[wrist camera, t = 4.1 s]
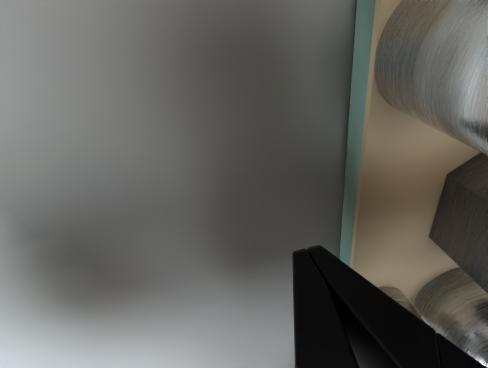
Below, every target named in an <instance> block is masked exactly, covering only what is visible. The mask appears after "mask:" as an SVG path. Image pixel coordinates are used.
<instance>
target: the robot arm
mask: <svg viewBox="0 0 488 368" xmlns="http://www.w3.org/2000/svg"><path fill="white" fill-rule="evenodd" d="M292 262H293V305H294V347H295V368H487V367H486V366H484V365H483V364H481V363H480V362H479V361H477V360H476V359H474V358H473V357H472V356H470V355H469V354H467V353H466V352H465V351H463V350H462V349H460V348H459V347H457V346H456V345H455V344H453V343H452V342H451V341H449V340H448V339H447V338H445V337H444V336H443V335H441V334H440V333H436V331H435V330H434V329H433V328H432V327H430V326H429V325H428V324H426V323H425V322H423V321H422V320H421V319H419V318H418V317H417V316H415V315H414V314H413V313H411V312H410V311H409V310H407V309H406V308H405V307H403V306H402V305H401V304H399V303H398V302H396V301H395V300H394V299H392V298H391V297H390V296H388V295H387V294H386V293H384V292H383V291H382V290H380V289H379V288H378V287H376V286H375V285H374V284H372V283H371V282H369V281H368V280H367V279H365V278H364V277H363V276H361V275H360V274H359V273H357V272H356V271H355V270H353V269H352V268H351V267H349V266H348V265H347V264H345V263H344V262H342V261H341V260H340V259H338V258H337V257H336V256H334V255H333V254H332V253H330V252H329V251H328V250H326V249H325V248H324V247H322V246H320V245H317V246H313V247H309V248H307V249H300V250H296V251H293V253H292Z"/></svg>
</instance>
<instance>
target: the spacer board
mask: <svg viewBox="0 0 488 368" xmlns="http://www.w3.org/2000/svg"><path fill="white" fill-rule="evenodd" d="M401 1H402V0H357V7H356V21H355V36H354V51H353V65H352V80H351V95H350V110H349V124H348V139H347V154H346V168H345V183H344V198H343V213H342V227H341V242H340V257H339V259H340V260H341V261H342V262H344V263H345V264H347V265H348V266H349V267H351V268H352V269H353V270H355V271H356V272H357V273H359V274H360V275H361V276H363V277H364V278H365V279H367V280H368V281H369V282H371V283H372V284H374V285H375V286H376V287H383V286H389V287H395V288H398V289H399V290H401V291H402V292H403V294H404V295H405V296H406V298H407V299H408V300H409V302H410V303H411V304H412V306H413V307H414V308H415V299H416V296H417V295H418V293H419V292H420V290H421V289H422V288H423V287H424V286H425V285H426V284H427V283H428V282H430V281H431V280H432V279H434V278H435V277H437V276H439V275H440V274H442V273H444V272H447V271H449V270H452V269H455V268H458V267H459V266H458V265H457V264H456V263H455V262H454V261H453V260H452V259H451V258H450V257H449V256H448V255H447V254H446V253H445V252H444V251H443V250H442V249H441V248H440V247H439V246H438V245H437V244H436V243H434V242H433V241H432V240H431V239H430V238H429V233H430V230H431V227H432V223H433V220H434V216H435V213H436V210H437V206H438V203H439V199H440V196H441V193H442V189H443V186H444V182H445V179H446V175H447V174H448V173H449V172H451V171H452V170H454V169H455V168H457V167H459V166H460V165H462V164H463V163H465V162H466V161H468V160H469V159H471V158H473V157H474V156H476V155H477V154H479V153H480V151H478V150H476V149H474V148H472V147H470V146H468V145H466V144H464V143H462V142H460V141H458V140H456V139H454V138H452V137H450V136H448V135H446V134H444V133H442V132H441V131H439V130H437V129H435V128H433V127H431V126H429V125H427V124H425V123H423V122H421V121H419V120H417V119H415V118H413V117H411V116H409V115H407V114H405V113H403V112H401V111H399V110H397V109H396V108H394V107H392V106H391V105H389V104H388V103H387V102H386V101H385V100H384V98H383V97H382V96H381V94H380V92H379V90H378V87H377V84H376V79H375V70H374V66H375V56H376V50H377V46H378V43H379V39H380V37H381V34H382V32H383V29H384V27H385V25H386V23H387V21H388V20H389V18H390V16H391V15H392V13H393V11H394V10H395V9H396V7H397V6H398V5H399V3H400V2H401ZM415 310H416V311H417V309H416V308H415ZM417 312H418V311H417ZM418 314H419V315H420V313H419V312H418ZM420 316H421V315H420ZM421 317H422V316H421Z"/></svg>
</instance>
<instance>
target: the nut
mask: <svg viewBox="0 0 488 368" xmlns="http://www.w3.org/2000/svg"><path fill="white" fill-rule="evenodd" d="M429 238H430V239H431V240H432V241H433V242H434V243H436V244H437V245H438V246H439V247H440V248H441V249H442V250H443V251H444V252H445V253H446V254H447V255H448V256H449V257H450V258H451V259H452V260H453V261H454V262H455V263H456V264H457V265H458V266H459V267H460V268H461V269H462V270H464V271H465V272H466V273H467V274H468V275H469V276H470V277H471V278H472V279H473V280H474V281H475V282H476V283H477V284H478V285H479V286H480V287H481V288H482V289H483V290H484V291H485V292H486V293H487V294H488V155H486V154H484V153H482V152H480V153H479V154H477V155H476V156H474V157H473V158H471V159H469V160H468V161H466V162H465V163H463V164H462V165H460V166H459V167H457V168H455V169H454V170H452V171H451V172H449V173H448V174H447V175H446V179H445V182H444V186H443V189H442V193H441V196H440V199H439V203H438V206H437V210H436V213H435V216H434V220H433V223H432V227H431V230H430V233H429Z"/></svg>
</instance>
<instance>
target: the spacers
mask: <svg viewBox="0 0 488 368" xmlns="http://www.w3.org/2000/svg"><path fill="white" fill-rule="evenodd" d="M374 70H375V79H376V84H377V87H378V90H379V92H380V94H381V96H382V97H383V98H384V100H385V101H386V102H387V103H388V104H389V105H391V106H392V107H394V108H396V109H397V110H399V111H401V112H403V113H405V114H407V115H409V116H411V117H413V118H415V119H417V120H419V121H421V122H423V123H425V124H427V125H429V126H431V127H433V128H435V129H437V130H439V131H441V132H442V133H444V134H446V135H448V136H450V137H452V138H454V139H456V140H458V141H460V142H462V143H464V144H466V145H468V146H470V147H472V148H474V149H476V150H478V151H480V152H482V153H484V154H486V155H488V0H402V1H401V2H400V3H399V5H398V6H397V7H396V9H395V10H394V11H393V13H392V15H391V16H390V18H389V20H388V21H387V23H386V25H385V27H384V29H383V32H382V34H381V37H380V39H379V43H378V46H377V50H376V56H375V66H374ZM378 288H379V289H380V290H382V291H383V292H384V293H386V294H387V295H388V296H390V297H391V298H392V299H394V300H395V301H396V302H398V303H399V304H401V305H402V306H403V307H405V308H406V309H407V310H409V311H410V312H411V313H413V314H414V315H415V316H417V317H418V318H419V319H421V320H422V321H423V322H425V321H426V323H427V324H428V325H429V326H430V327H432V328H433V329H434V330H435V331H436V333H440V334H441V335H443V336H444V337H445V338H447V339H448V340H449V341H451V342H452V343H453V344H455V345H456V346H457V347H459V348H460V349H462V350H463V351H465V352H466V353H467V354H469V355H470V356H472V357H473V358H474V359H476V360H477V361H479V362H480V363H481V364H483V365H484V366H486V367H487V368H488V294H487V293H486V292H485V291H484V290H483V289H482V288H481V287H480V286H479V285H478V284H477V283H476V282H475V281H474V280H473V279H472V278H471V277H470V276H469V275H468V274H467V273H466V272H465V271H464V270H462V269H461V268H460V267H458V268H455V269H452V270H449V271H447V272H444V273H442V274H440V275H439V276H437V277H435V278H434V279H432V280H431V281H430V282H428V283H427V284H426V285H425V286H424V287H423V288H422V289H421V290H420V292H419V293H418V295H417V296H416V299H415V308H416V309H417V311H418V312H419V313H420V315H421V316H422V317H423V319H424V320H425V321H424V320H423V319H422V318H421V316H420V315H419V314H418V312H417V311H416V310H415V308H414V307H413V306H412V304H411V303H410V302H409V300H408V299H407V298H406V296H405V295H404V294H403V292H402V291H401V290H399V289H398V288H395V287H389V286H383V287H378Z"/></svg>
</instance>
